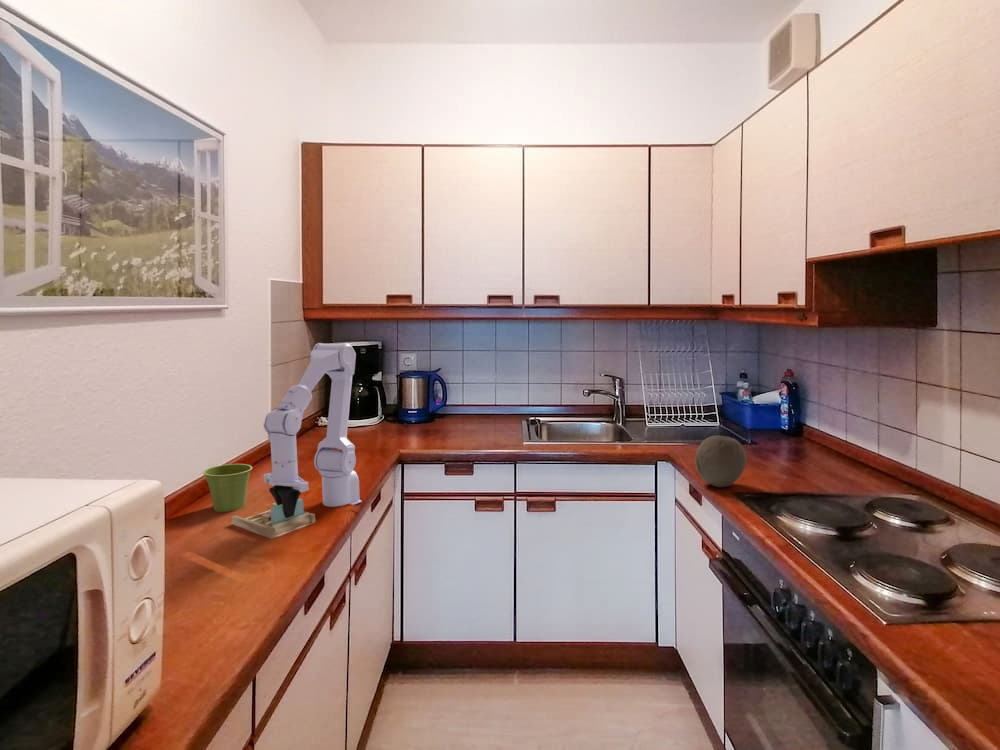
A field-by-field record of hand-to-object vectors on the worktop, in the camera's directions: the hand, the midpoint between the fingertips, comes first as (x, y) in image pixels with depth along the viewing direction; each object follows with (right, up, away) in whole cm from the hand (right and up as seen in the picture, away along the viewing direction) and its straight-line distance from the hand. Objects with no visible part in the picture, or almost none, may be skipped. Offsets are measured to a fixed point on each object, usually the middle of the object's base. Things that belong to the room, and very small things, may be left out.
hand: (287, 515), depth 136 cm
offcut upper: (-4, -1, +3) cm, 5 cm away
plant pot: (-21, -3, +16) cm, 26 cm away
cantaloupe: (+117, 0, +34) cm, 122 cm away
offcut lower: (-4, -3, +3) cm, 6 cm away
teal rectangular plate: (0, -3, 0) cm, 3 cm away
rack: (-5, -4, +4) cm, 7 cm away
